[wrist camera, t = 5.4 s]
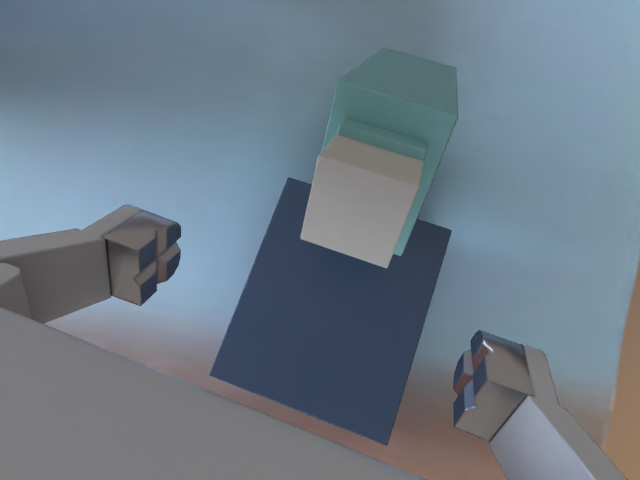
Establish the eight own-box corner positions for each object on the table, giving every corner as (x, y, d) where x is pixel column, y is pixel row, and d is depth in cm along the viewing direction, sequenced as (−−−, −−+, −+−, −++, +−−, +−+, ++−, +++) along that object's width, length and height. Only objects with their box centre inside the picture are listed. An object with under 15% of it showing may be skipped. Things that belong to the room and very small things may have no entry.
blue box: (300, 200, 30) (291, 167, 24) (431, 243, 29) (454, 220, 23) (236, 366, 27) (208, 375, 22) (376, 421, 26) (387, 446, 20)
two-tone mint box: (376, 90, 32) (410, -132, 16) (438, 108, 31) (533, -105, 16) (308, 276, 29) (273, 215, 13) (375, 299, 28) (417, 264, 13)
